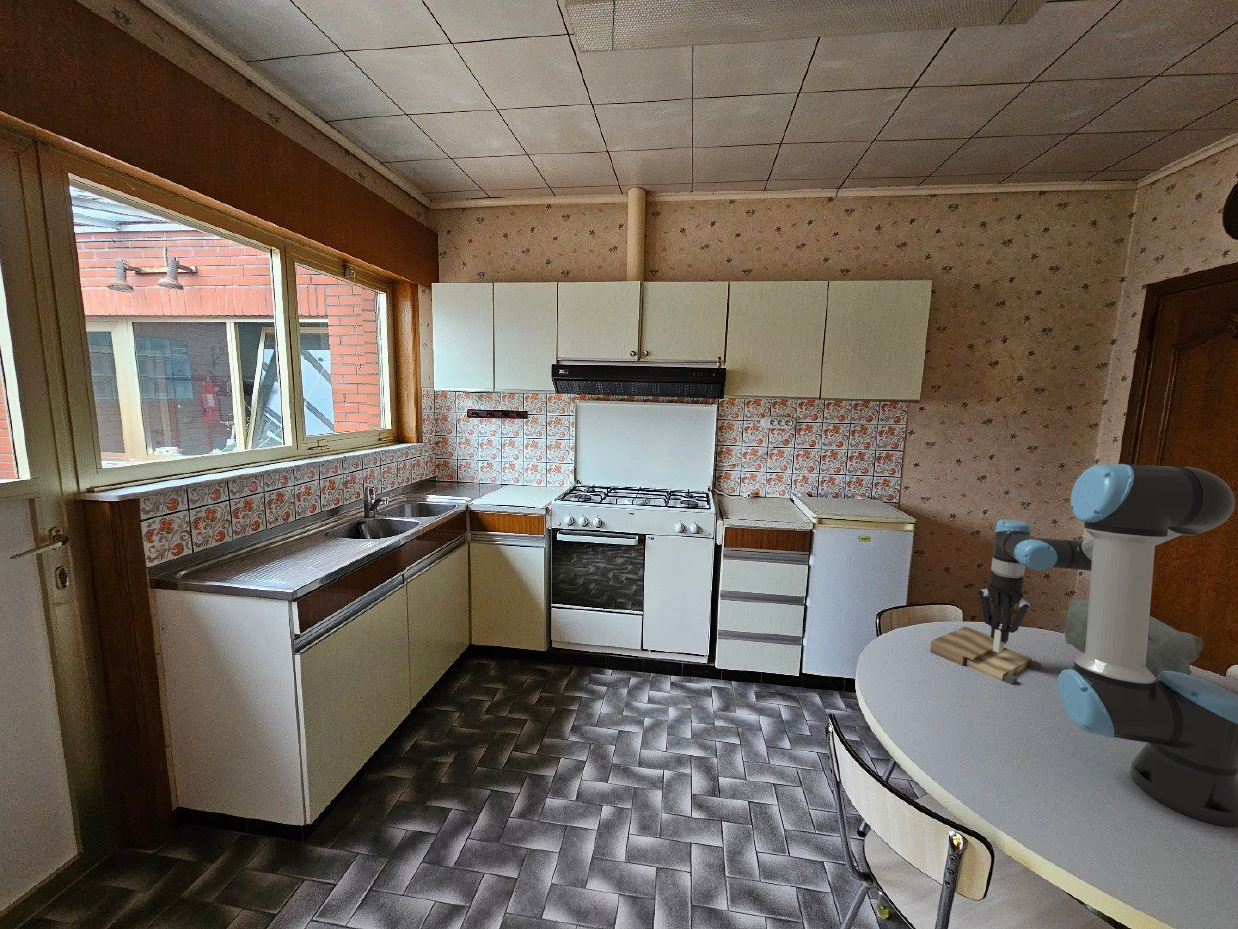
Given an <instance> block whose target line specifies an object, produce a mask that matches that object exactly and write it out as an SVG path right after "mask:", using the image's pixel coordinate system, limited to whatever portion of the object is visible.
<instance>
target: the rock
mask: <svg viewBox="0 0 1238 929" xmlns="http://www.w3.org/2000/svg"><path fill="white" fill-rule="evenodd" d="M1068 604H1069V605H1068V610H1067V616H1066V620H1065V627H1064V628H1065V630H1064V637H1065V642H1066V644H1067V645H1071V646H1073V648H1075V649H1077V650H1078V651H1079V652H1082V654H1083V653H1085V646H1086V633H1087V619H1088V606H1089V600H1085V599H1083V600H1081V599H1079V598H1078V599H1077V598H1076V599H1072V600H1071V601H1069V603H1068ZM1203 647H1204V641H1203V639H1202V637H1200V636H1199V637H1198V636H1196V635H1194V634H1192V633H1190V632H1184V631H1178V630H1177V629H1175V628H1174V627H1172V626H1170V625H1168V624H1166V623H1165V622H1162V621H1160V620H1158V619H1157V618H1155V617H1153V616H1151V615H1149V628H1148V641H1147V653H1146V668H1147V669H1148V670H1149V671H1150V672H1151V673H1152V674H1153V675H1154V676H1155V677H1156V679H1158V678H1157V675H1159V673H1160V672H1162V671H1174V672H1179V673H1183V674H1187V675H1191V674H1192V673H1193V672H1192V670H1191V669H1190V665H1191V663H1194V662H1195V661H1196V660H1197V659H1198V658H1199V656H1200V654H1201V652H1202V650H1203V649H1204V648H1203ZM1191 676H1192V675H1191Z"/></svg>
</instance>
